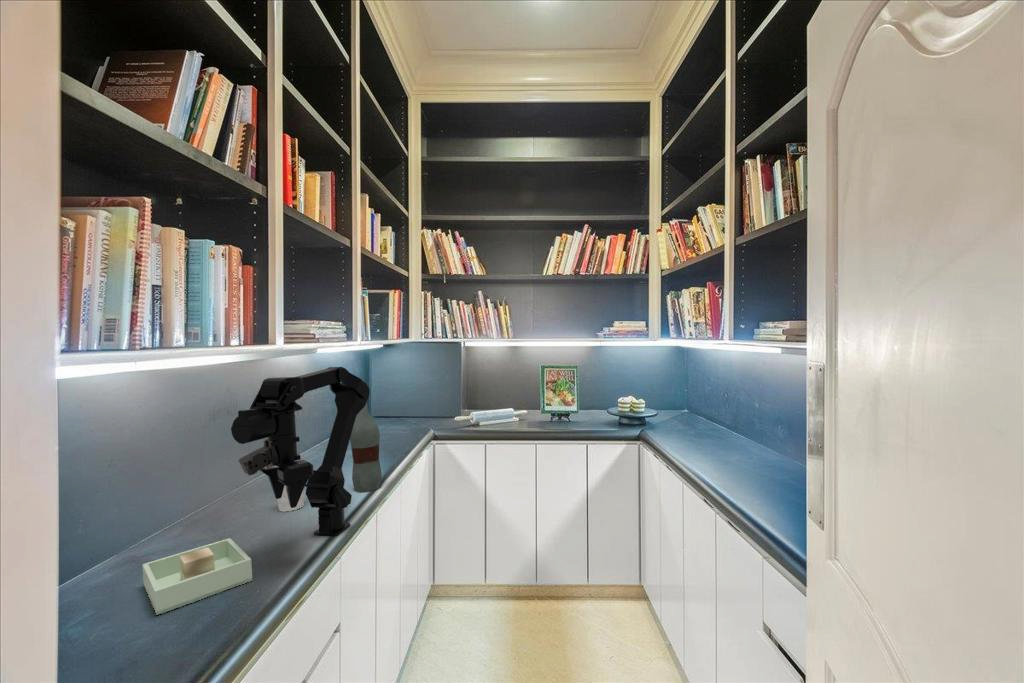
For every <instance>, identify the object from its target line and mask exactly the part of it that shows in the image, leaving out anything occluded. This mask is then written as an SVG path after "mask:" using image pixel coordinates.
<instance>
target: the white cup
mask: <svg viewBox="0 0 1024 683" xmlns="http://www.w3.org/2000/svg"><path fill="white" fill-rule="evenodd" d="M305 492H306V490H305V488H304V489H303V492H302V494H301V496H300V499H299V501H298V504H297V506H296V507H294V508H291V507H290V504H289V499H288V495H287V490H286V486H284V490H283V494H282V497H281V498H279V499H276V501H277V506H278V511H279V512H281V511H282V513H283V512H284V513H287V512H286V511H289V512H294V511H297V509H298V510H300V509H302V508H303V507H304V506H305ZM301 507H302V508H301ZM299 508H300V509H299ZM293 510H294V511H293Z"/></svg>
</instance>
